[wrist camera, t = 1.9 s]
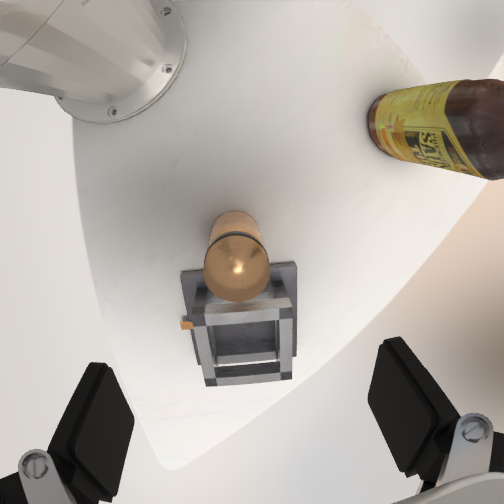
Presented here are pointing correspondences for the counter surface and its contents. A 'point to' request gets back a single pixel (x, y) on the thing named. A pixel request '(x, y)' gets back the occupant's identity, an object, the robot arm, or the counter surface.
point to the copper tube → (236, 258)
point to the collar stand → (244, 329)
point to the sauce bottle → (444, 126)
